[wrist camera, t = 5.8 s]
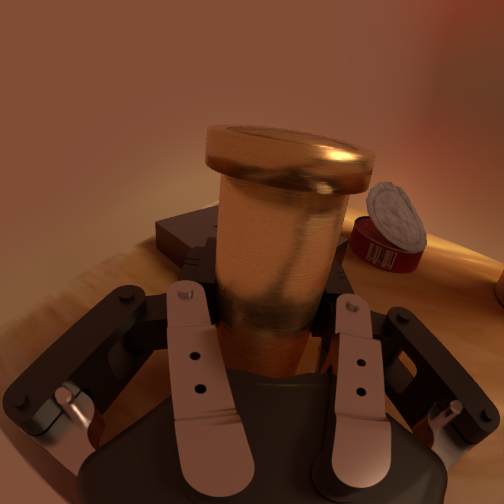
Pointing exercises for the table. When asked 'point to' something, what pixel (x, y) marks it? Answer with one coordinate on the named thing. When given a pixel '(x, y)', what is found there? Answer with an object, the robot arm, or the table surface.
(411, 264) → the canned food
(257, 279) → the bushing
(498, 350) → the table surface
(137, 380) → the table surface
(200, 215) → the jig
